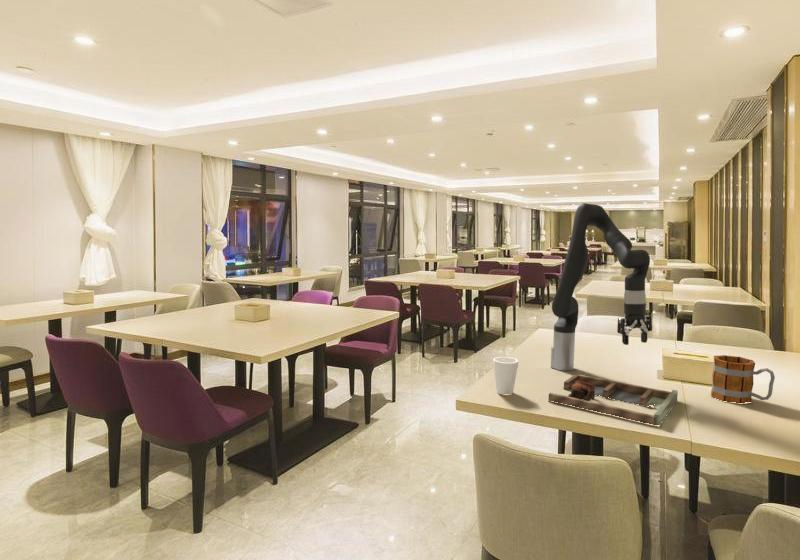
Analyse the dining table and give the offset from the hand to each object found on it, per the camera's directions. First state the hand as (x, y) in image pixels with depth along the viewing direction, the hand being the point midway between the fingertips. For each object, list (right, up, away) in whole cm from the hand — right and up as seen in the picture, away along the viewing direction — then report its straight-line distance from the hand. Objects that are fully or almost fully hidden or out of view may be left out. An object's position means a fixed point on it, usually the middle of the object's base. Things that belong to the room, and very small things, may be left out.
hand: (634, 343), depth 188 cm
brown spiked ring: (-23, -21, -7) cm, 32 cm away
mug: (+37, -21, -6) cm, 43 cm away
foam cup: (-50, -20, +1) cm, 54 cm away
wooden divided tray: (-12, -21, -7) cm, 25 cm away
